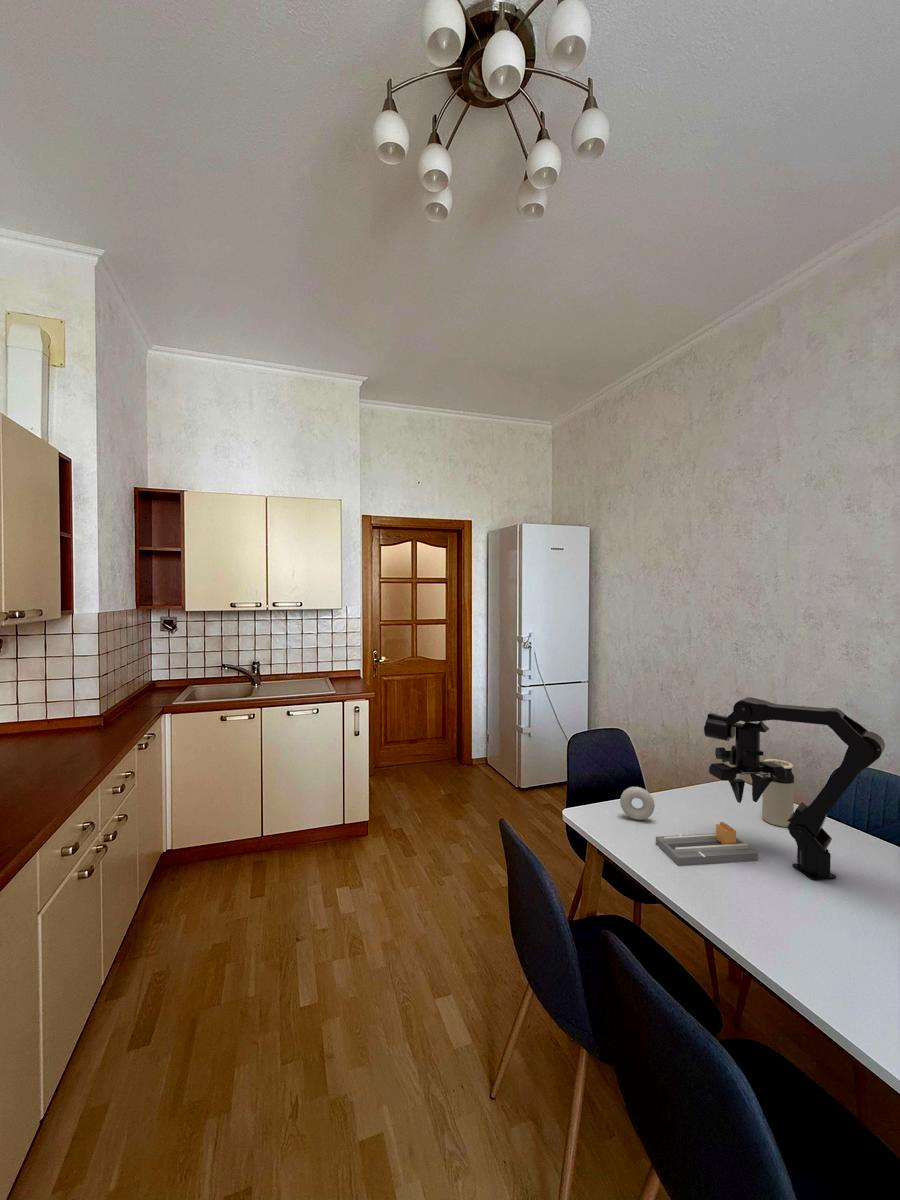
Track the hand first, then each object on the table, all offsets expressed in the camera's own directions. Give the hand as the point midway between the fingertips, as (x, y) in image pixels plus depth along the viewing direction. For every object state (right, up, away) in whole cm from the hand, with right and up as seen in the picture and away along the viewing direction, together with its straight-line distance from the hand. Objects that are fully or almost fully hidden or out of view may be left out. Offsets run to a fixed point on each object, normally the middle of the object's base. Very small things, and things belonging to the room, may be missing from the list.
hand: (746, 801), depth 134 cm
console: (-12, -13, -1) cm, 18 cm away
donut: (-23, -13, +18) cm, 32 cm away
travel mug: (+19, -13, +16) cm, 28 cm away
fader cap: (-6, -11, -1) cm, 12 cm away
